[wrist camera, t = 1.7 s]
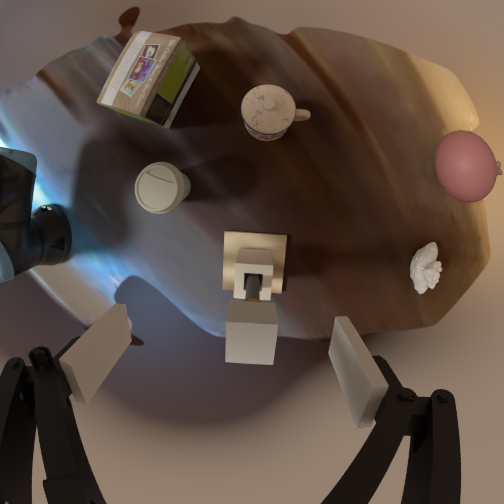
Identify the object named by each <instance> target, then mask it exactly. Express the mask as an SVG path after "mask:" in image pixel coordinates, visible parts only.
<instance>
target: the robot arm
mask: <svg viewBox="0 0 504 504" xmlns="http://www.w3.org/2000/svg"><path fill="white" fill-rule="evenodd" d="M36 167H37V159H36V156H35V155H34V154H32V153H28V152H25V151H20V150H15V149H9V148H4V147H0V283H1V282H4V281H7V280H11V279H13V277H15V276H17V275H19V274H21V273H23V272H25V271H27V270H29V269H31V268H33V267H35V266H37V265H56V264H58V263H60V262H62V261H63V260H64V259H65V258H66V257H67V255H68V253H69V251H70V247H71V229H70V225H69V222H68V220H67V218H66V216H65V214H64V213H63V211H62V210H61V209H60V208H58V207H57V206H55V205H51V204H48V205H43V206H40V207H38V208H37V209H35V210H34V211H33V212H32V213H31V211H32V200H33V192H34V184H35V178H36ZM131 341H132V340H131V335H130V329H129V324H128V318H127V311H126V305H123V304H116V303H115V304H114V305H113V306H112V307H111V308H110V309H109V310H108V311H107V312H106V313H105V314H104V315H103V316H102V317H101V318H100V319H99V320H98V321H97V322H95V323H94V324H93V325H92V326H91V327H90V328H89V329H88V330H87V331H86V332H85V333H84V334H83V335H82V336H78V337H76V338H74V339H72V340H71V341H70V342H69V343H68V344H67V345H66V346H65V347H64V348H63V349H62V350H61V351H60V352H59V353H58V354H57V355H56V356H55V357H54V358H52V355H51V352H50V350H49V348H47V347H44V346H41V347H36V348H34V349H32V350H31V351H30V352H29V354H28V356H29V358H30V361H31V363H32V366H33V367H32V366H26V365H25V363H24V360H23V359H21V358H19V357H15V358H11V359H10V360H9V361H7V363H6V364H5V366H4V369H3V371H2V373H1V376H0V504H32V463H33V452H34V441H35V434H36V427H37V429H38V436H39V442H40V448H41V453H42V458H43V463H44V468H45V472H46V477H47V479H46V480H43V487H44V491H45V494H46V498H47V502H48V504H106V502H105V500H104V498H103V495H102V493H101V491H100V489H99V487H98V484H97V482H96V480H95V477H94V475H93V472H92V470H91V467H90V464H89V462H88V459H87V456H86V453H85V450H84V447H83V444H82V441H81V438H80V435H79V431H78V428H77V424H76V420H75V417H74V412H73V408H72V404H71V401H70V399H69V396H70V395H71V394H73V396H74V398H75V400H76V401H78V402H81V403H83V404H86V405H87V404H88V403H89V401H90V400H91V398H92V397H93V395H94V394H95V392H96V391H97V389H98V388H99V386H100V385H101V383H102V382H103V381H104V379H105V378H106V376H107V375H108V373H109V372H110V370H111V369H112V368H113V366H114V365H115V363H116V362H117V361H118V359H119V358H120V356H121V355H122V354H123V352H124V351H125V349H126V348H127V346H128V345H129V344H130V342H131ZM328 354H329V356H330V359H331V361H332V364H333V367H334V369H335V372H336V374H337V377H338V380H339V383H340V385H341V388H342V391H343V393H344V396H345V399H346V402H347V404H348V407H349V410H350V412H351V416H352V418H353V421H354V424H355V427H356V429H357V428H364V427H370V426H371V424H372V422H373V420H374V419H375V421H376V425H375V426H374V428H373V430H372V432H371V433H370V435H369V437H368V438H367V440H366V442H365V443H364V445H363V447H362V448H361V450H360V451H359V453H358V454H357V456H356V457H355V459H354V460H353V462H352V463H351V465H350V466H349V468H348V469H347V470H346V472H345V473H344V475H343V476H342V478H341V479H340V480H339V482H338V483H337V484H336V485H335V487H334V488H333V489H332V491H331V492H330V493H329V495H328V496H327V497H326V498H325V499H324V500H323V502H322V503H321V504H368V503H369V501H370V499H371V498H372V496H373V495H374V493H375V491H376V490H377V488H378V486H379V484H380V483H381V481H382V479H383V477H384V475H385V474H386V472H387V470H388V468H389V466H390V463H391V462H392V460H393V458H394V456H395V454H396V452H397V449H398V447H399V445H400V443H401V441H402V438H403V436H407V435H408V436H411V438H410V449H409V458H408V466H407V473H406V480H405V485H404V491H403V496H402V501H401V504H460V494H461V457H460V456H461V454H460V440H459V429H458V420H457V411H456V404H455V399H454V396H453V394H452V393H451V392H449V391H447V390H443V389H438V390H435V391H434V392H433V393H432V395H431V397H418V396H417V395H416V393H415V392H414V391H412V390H411V389H409V388H404V387H402V385H401V383H400V382H399V380H398V379H397V377H396V375H395V374H394V373H393V371H392V369H391V368H390V366H389V364H388V363H387V361H386V360H385V359H383V358H382V357H381V356H379V355H378V356H371V354H370V353H369V351H368V349H367V348H366V346H365V344H364V343H363V341H362V339H361V338H360V336H359V334H358V333H357V331H356V330H355V328H354V326H353V325H352V323H351V322H350V320H349V318H348V317H336V318H335V324H334V329H333V334H332V339H331V344H330V348H329V353H328Z"/></svg>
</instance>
